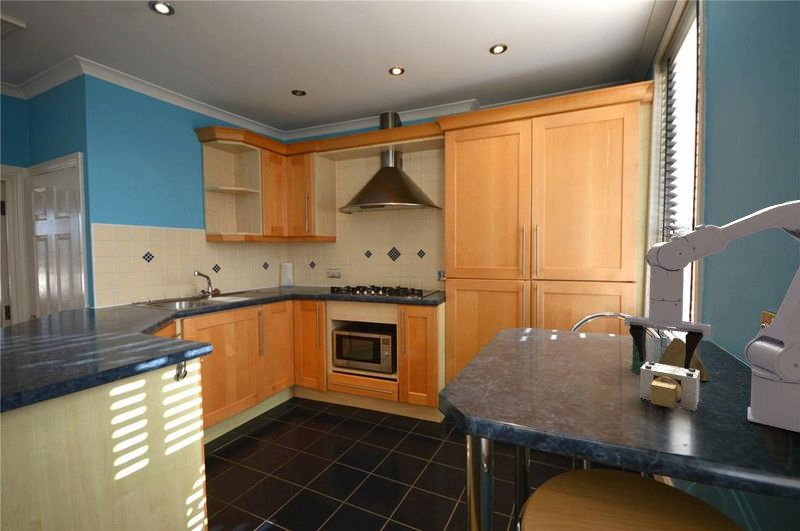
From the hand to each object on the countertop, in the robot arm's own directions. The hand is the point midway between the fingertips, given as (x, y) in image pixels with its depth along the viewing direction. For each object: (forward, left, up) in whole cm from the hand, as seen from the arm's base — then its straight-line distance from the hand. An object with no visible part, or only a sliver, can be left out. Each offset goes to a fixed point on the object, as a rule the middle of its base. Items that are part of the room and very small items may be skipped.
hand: (664, 364), depth 78 cm
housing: (0, -8, -10) cm, 13 cm away
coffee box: (+10, -30, -10) cm, 33 cm away
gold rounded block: (0, -5, -10) cm, 11 cm away
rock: (0, -31, -10) cm, 32 cm away
